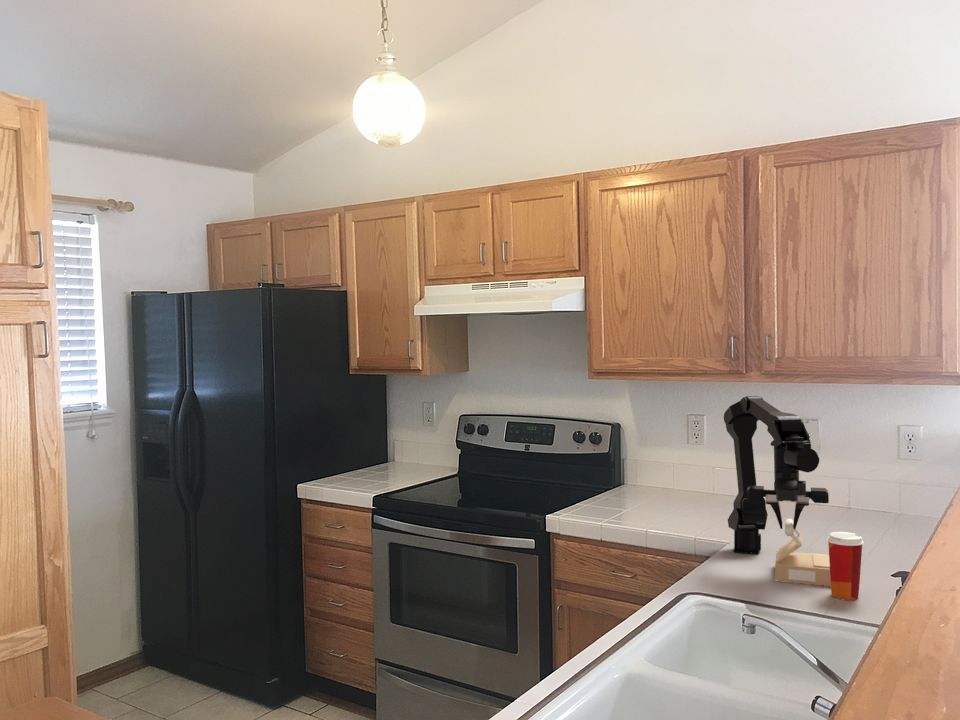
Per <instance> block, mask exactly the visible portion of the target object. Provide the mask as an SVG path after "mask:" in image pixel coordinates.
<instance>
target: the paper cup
mask: <svg viewBox="0 0 960 720" xmlns="http://www.w3.org/2000/svg"><path fill="white" fill-rule="evenodd" d="M826 541H827V542H828V544H827V546H828V555H829V563H830V580H831V586H830V590H831V591H830V592H831V593H830V594H831V596H832V597H833V598H835V597H836V598H835V599H837V598H839V599H838V600H841V599H844V600H845V601H856V600H858V599H859V593H860V581H861V580H860V579H861V568H862V556H863V555H862V552H863V545H864V544H865V543H864V540H863V537H862V536H861V535H859V534H857V533H854V532H848V531H847V532H846V531H832V532H830V533H829V534H828V537H826ZM844 600H843V601H844Z"/></svg>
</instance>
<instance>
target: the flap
mask: <svg viewBox="0 0 960 720" xmlns="http://www.w3.org/2000/svg"><path fill="white" fill-rule="evenodd" d="M793 522H794V519H793V518H786V519H785V522H784V534H785V535H786V536H787V537H790V538H791V539H790V540H788V542H786V543H784V544H783V545H782V546H780V547H778V548H777V550H776V551H777V559H776V558H775V562H776V561H777V562H779V561H780V560H782V559H783V558H785V557H786V556H788V555H789V554H791V553H792V552H796V551H797V550H798V549H800V548H801V547H802V545H803V543H802V533H801V532H800V531H799V530H798V528H797V527H796V529H795V530H794V526H793ZM794 533H795V534H796V535H795V534H794Z"/></svg>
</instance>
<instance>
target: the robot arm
mask: <svg viewBox="0 0 960 720" xmlns="http://www.w3.org/2000/svg"><path fill="white" fill-rule="evenodd" d="M723 421H724V423H725V429H726V432H727V433H728V435H729V436H730V438H732V440H733V448H734V457H735V458H734V459H735V468H736V469H735V471H736V478H737V479H736V480H737V489H738V493H737V495H736V497H735V499H734V500H733V510H732V511H731V513H730V515H729V517H728V518H727V525H728V528H730V529H732V530H733V537H734V538H733V539H734V542H733V543H734V544H733V545H734V547H733V550H732V552H734V553H738V554H739V553H740V554H749V555H750V554H751V555H759V554H760V551H761V550H762V533H760V530H766V527H767V526H766V525H767V520H768V515H769V514H768V512H767V511H768V510H767V505H770V506H771V508H772V510H773V512H774V514H775V516H776V519H777V522H778V526H779V528H780V530H783V517H782V511H781V510H782V509H781V505H780V502H785V501H786V502H791V503H792V502H793V503H794V502H795V505H794V515H793V521H794V522H793V526H794V530H795V529H796V528H797V525H798V522H799V519H800V516H801V514H802V512H803V509H804V508H805V507H808V506H810V500H811V501H812V502H813V503H815V504H830V503H829V502H830V500H829V499H830V498H829V491H828V489H827V488H825V487H810V490H807V482H806V480H800V472H803V473H812V472H814V471H815V470H816V469H817V468H818V467H819V464H820V457H819V454H818V453H817V451H815V449H813V448H812V443H811V442H812V441H811V439H810V438H811V436H810V434H809V432H808V431H807V429H806V426H805V423H804V422H803V419H802V418H801V417H800V416H799V415H798V414H794V413H790V412H783V411H780V410H779V408H776V407H774V406H773V405H772V404H770V403H769V402H767V401H766V400H764V398H763V397H762V396H760V395H754V396H753V395H751V396H750V395H749V396H748V395H746V396H743V397H741V399H740V400H739V401H737V402H735V403H732V404H731V405H729V407H728V408H727V409H726V410H725V411H724V414H723ZM759 421H760V422H761V423H763V424H764V425H766V427H767V428H766V429H767V430H766V431H767V433H768V434H769V435H770V436H771V437H772V439H773V440H771V442H770V446H771V447H773V457H774V458H773V462H774V463H773V465H774V468H773V469H774V471H773V474H774V475H773V476H774V481H773V489H765V486H764V485H757V477H756V467H755V457H754V456H755V455H754V449H753V448H754V447H753V437H754V436H755V433H756V431H757V429H758V422H759Z"/></svg>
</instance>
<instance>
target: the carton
mask: <svg viewBox="0 0 960 720" xmlns="http://www.w3.org/2000/svg"><path fill="white" fill-rule="evenodd" d="M776 559H777V550H776V553H775V562H774V563H775V565H774V569H775V570H774V571H775V572H774V576H775V577H774V581H775V580H778V581H777V582H779V581H786V582H785V583H789V582H794V583H793V584H800V583H805V584H804V585H810V584H816V585H815V586H821V585H824V586H823V587H831V580H830V563H829V554H826V553H825V554H824V553H814V552H813V553H808V552H797V551H794V552H792V553H791V554H789V555H788V556H786V557H785V558H783V559H782V560H780V561H779V562H777V561H776Z"/></svg>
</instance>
